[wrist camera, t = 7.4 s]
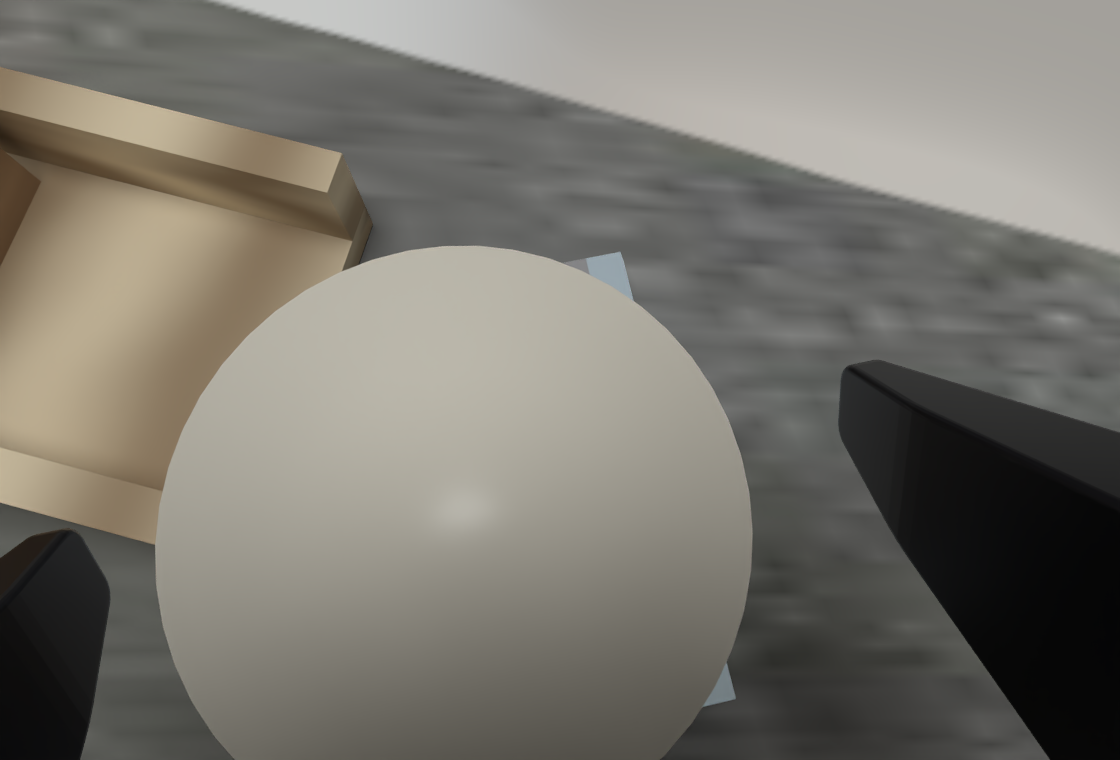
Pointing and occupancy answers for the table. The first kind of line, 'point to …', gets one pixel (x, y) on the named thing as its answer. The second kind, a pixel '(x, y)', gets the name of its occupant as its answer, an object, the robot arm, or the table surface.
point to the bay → (142, 285)
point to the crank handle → (454, 522)
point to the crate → (13, 198)
